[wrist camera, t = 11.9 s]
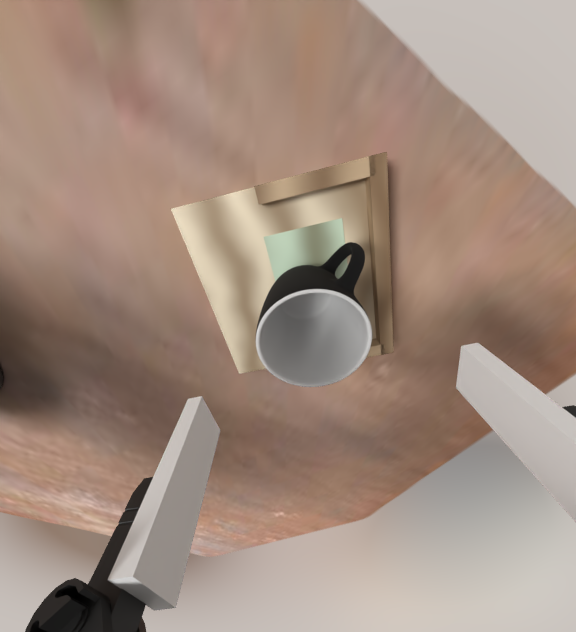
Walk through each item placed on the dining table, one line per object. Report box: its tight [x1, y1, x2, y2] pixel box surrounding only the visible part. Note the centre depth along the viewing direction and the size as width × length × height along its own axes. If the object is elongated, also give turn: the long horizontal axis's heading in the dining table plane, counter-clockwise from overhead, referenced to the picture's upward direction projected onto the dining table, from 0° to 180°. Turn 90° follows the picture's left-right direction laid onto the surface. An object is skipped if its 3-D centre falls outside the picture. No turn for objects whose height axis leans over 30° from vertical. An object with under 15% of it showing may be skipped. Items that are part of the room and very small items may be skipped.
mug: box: [255, 242, 372, 387], centre depth 22 cm, size 12×9×10 cm
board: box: [171, 152, 393, 374], centre depth 27 cm, size 20×21×4 cm
